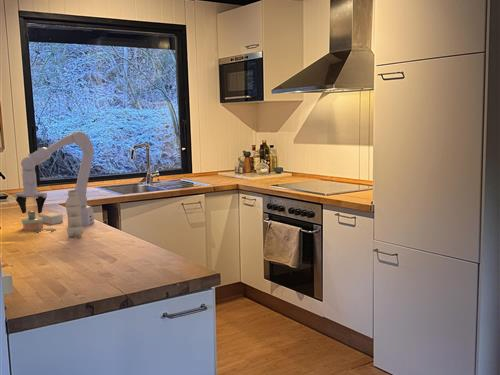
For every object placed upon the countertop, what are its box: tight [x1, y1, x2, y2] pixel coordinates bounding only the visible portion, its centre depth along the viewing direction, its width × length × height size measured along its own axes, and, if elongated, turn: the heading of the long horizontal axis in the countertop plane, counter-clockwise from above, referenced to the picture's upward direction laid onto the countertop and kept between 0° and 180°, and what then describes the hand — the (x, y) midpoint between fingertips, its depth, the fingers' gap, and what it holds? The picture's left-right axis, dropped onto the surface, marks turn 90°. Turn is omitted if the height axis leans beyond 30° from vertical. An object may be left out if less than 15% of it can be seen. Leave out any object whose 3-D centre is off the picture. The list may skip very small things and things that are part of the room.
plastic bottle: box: [64, 189, 84, 238], centre depth 222 cm, size 6×7×20 cm
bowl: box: [22, 221, 44, 231], centre depth 241 cm, size 8×8×4 cm
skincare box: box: [38, 211, 64, 225], centre depth 254 cm, size 6×4×12 cm
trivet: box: [32, 228, 57, 234], centre depth 234 cm, size 10×10×1 cm
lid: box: [20, 210, 43, 225], centre depth 240 cm, size 9×9×5 cm
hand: (32, 212), depth 240 cm, fingers open, 7 cm apart
